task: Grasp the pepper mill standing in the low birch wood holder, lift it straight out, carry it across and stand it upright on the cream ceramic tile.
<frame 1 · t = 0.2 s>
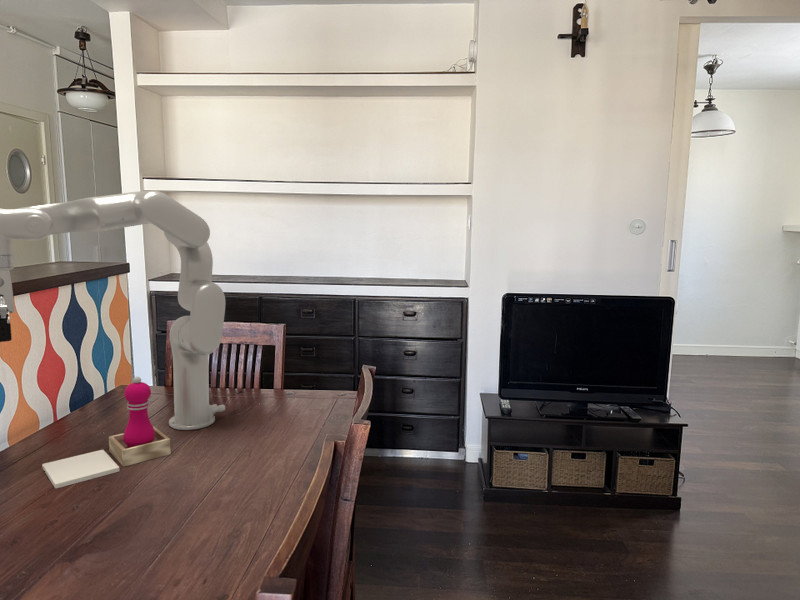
tile: (80, 469, 126), on the table
pepper mill: (139, 453, 137), resting in holder
holder: (139, 452, 136), on the table
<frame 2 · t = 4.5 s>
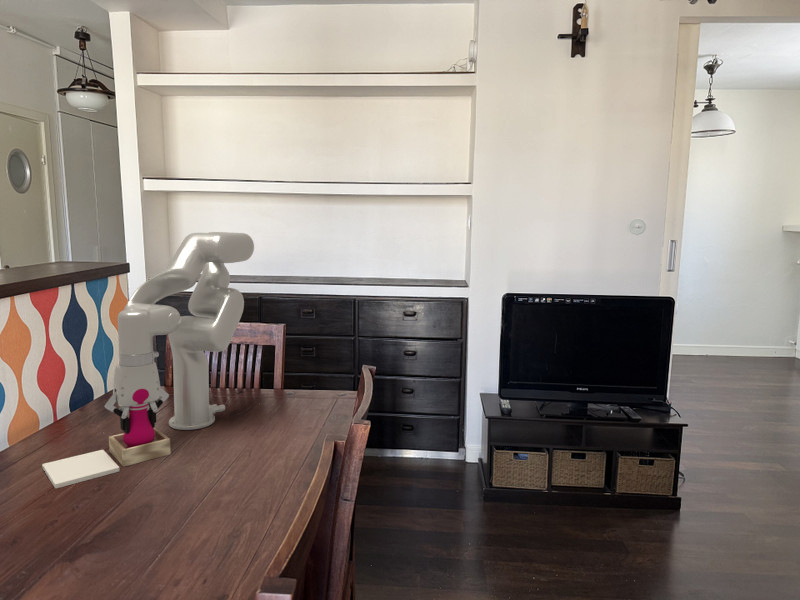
hand: (138, 428, 136), 7 cm above the table, tool pointing down, fingers closed on pepper mill, 5 cm apart
pepper mill: (139, 453, 137), resting in holder, touching gripper
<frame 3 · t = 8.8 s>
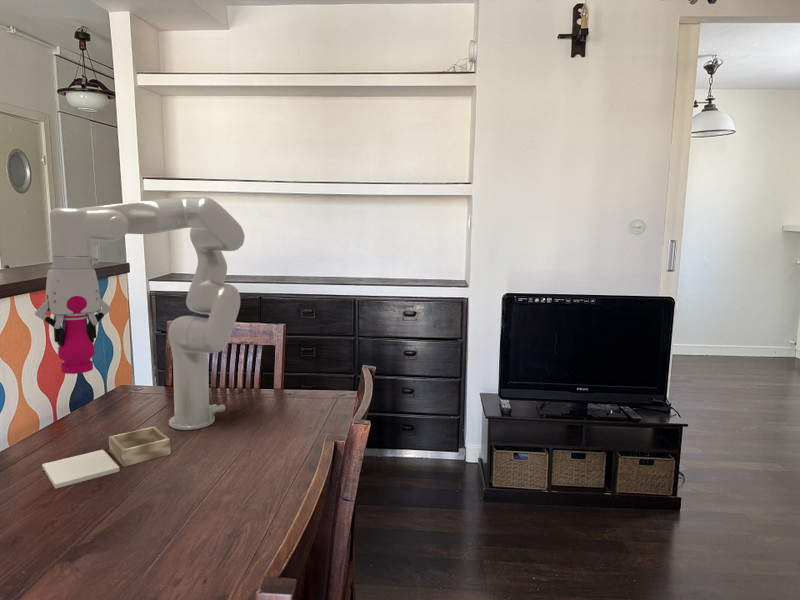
hand: (75, 342, 122), 31 cm above the table, tool pointing down, fingers closed on pepper mill, 5 cm apart
pepper mill: (77, 371, 123), point 24 cm above the table, touching gripper
when the fingers open (9 cm above the table, at t = 13.4 s): pepper mill drops 1 cm, resting on tile.
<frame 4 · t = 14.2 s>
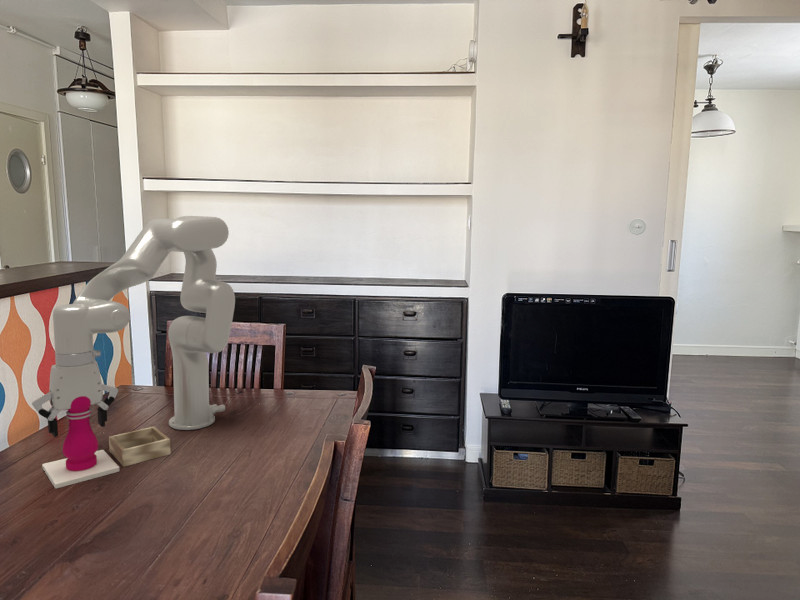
hand: (78, 429, 125), 10 cm above the table, tool pointing down, fingers open, 9 cm apart
pepper mill: (81, 466, 127), point 1 cm above the table, touching tile
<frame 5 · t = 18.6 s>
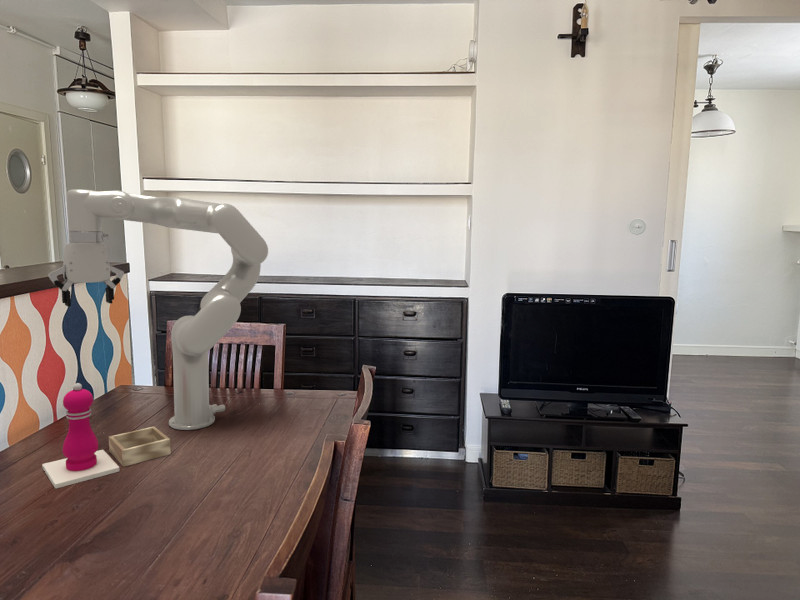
hand: (89, 304, 140), 36 cm above the table, tool pointing down, fingers open, 9 cm apart
nothing on the table moved.
at the end: pepper mill inside the target area on the tile (0.2 cm from its centre), point 0.8 cm above the tile's base; pepper mill tilted 0°; the gripper is holding nothing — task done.
